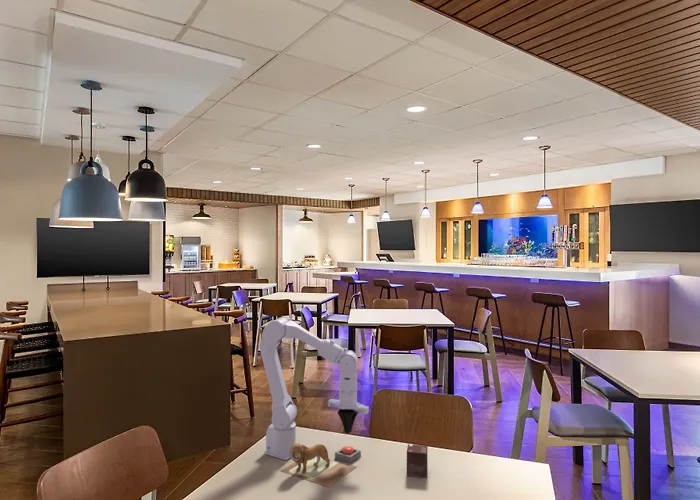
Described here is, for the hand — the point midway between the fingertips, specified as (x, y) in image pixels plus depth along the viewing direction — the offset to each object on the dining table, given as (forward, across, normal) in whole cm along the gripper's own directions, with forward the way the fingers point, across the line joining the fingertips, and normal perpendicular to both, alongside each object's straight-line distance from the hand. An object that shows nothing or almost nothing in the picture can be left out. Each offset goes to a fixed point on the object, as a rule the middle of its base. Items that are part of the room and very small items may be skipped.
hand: (348, 432), depth 154 cm
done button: (+7, 0, 0) cm, 7 cm away
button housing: (+8, 0, 0) cm, 8 cm away
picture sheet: (+8, -3, -12) cm, 14 cm away
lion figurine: (+8, -5, -14) cm, 17 cm away
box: (+9, +23, +3) cm, 25 cm away
